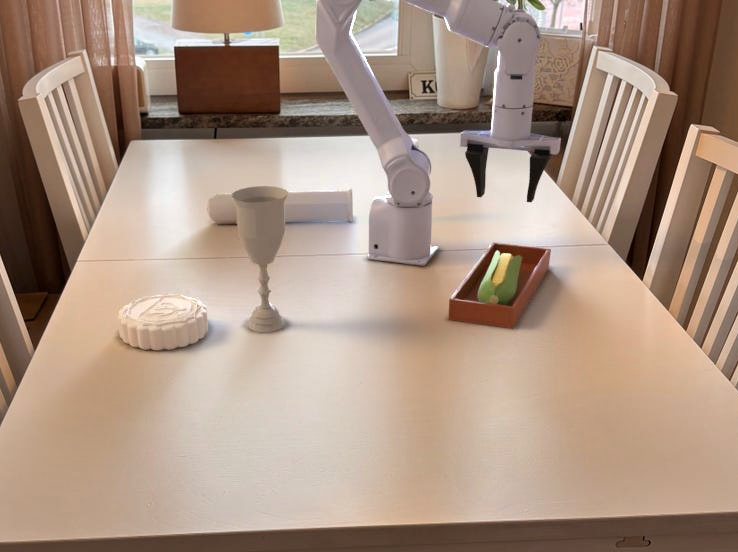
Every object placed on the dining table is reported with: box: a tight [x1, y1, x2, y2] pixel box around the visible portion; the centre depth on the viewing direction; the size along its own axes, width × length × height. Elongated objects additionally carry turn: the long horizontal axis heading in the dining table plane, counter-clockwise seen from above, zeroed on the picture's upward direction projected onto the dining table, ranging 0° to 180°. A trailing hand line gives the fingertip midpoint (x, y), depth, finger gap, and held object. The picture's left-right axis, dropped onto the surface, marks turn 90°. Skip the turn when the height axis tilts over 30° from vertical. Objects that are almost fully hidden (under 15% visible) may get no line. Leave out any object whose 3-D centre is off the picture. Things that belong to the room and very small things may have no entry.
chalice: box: [231, 185, 289, 333], centre depth 137 cm, size 7×7×18 cm
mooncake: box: [117, 293, 209, 351], centre depth 139 cm, size 12×12×4 cm
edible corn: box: [478, 250, 522, 306], centre depth 148 cm, size 5×20×5 cm, turn 165°
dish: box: [447, 242, 552, 329], centre depth 149 cm, size 9×24×3 cm, turn 158°
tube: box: [206, 187, 354, 225], centre depth 177 cm, size 5×5×25 cm
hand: (505, 197), depth 157 cm, fingers open, 7 cm apart
